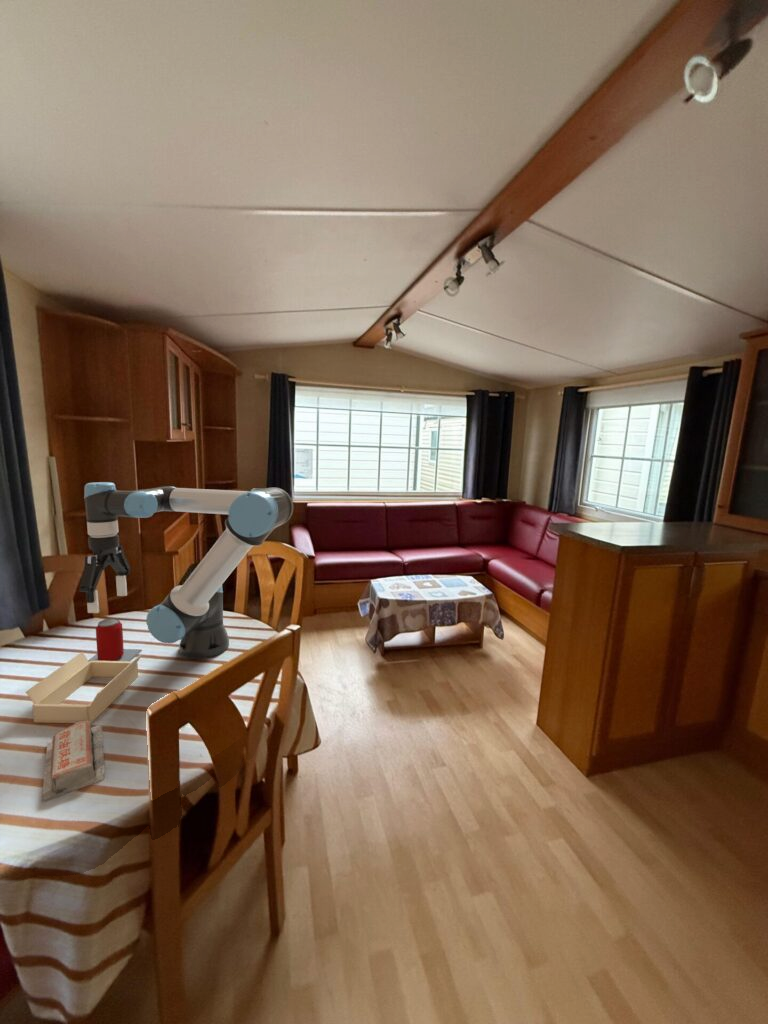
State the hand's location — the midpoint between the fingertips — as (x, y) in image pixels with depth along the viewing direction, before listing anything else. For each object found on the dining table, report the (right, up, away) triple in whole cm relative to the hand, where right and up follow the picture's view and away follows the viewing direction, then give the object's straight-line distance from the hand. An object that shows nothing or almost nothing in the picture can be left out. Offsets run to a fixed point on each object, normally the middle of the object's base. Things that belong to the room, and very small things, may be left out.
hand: (108, 603), depth 123 cm
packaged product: (+18, -26, -37) cm, 48 cm away
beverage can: (-1, -18, +3) cm, 18 cm away
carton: (+6, -21, -16) cm, 27 cm away
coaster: (-1, -18, +3) cm, 18 cm away
